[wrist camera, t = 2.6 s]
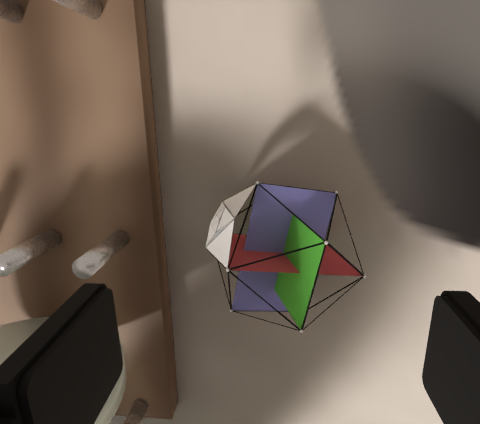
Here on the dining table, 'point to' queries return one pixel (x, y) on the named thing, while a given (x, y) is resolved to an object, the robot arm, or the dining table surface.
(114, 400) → the sage plate
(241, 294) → the geometric puzzle
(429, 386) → the robot arm
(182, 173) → the dining table surface
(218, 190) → the dining table surface
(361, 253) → the dining table surface
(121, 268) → the dish rack
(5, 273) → the rack tines
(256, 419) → the dining table surface
